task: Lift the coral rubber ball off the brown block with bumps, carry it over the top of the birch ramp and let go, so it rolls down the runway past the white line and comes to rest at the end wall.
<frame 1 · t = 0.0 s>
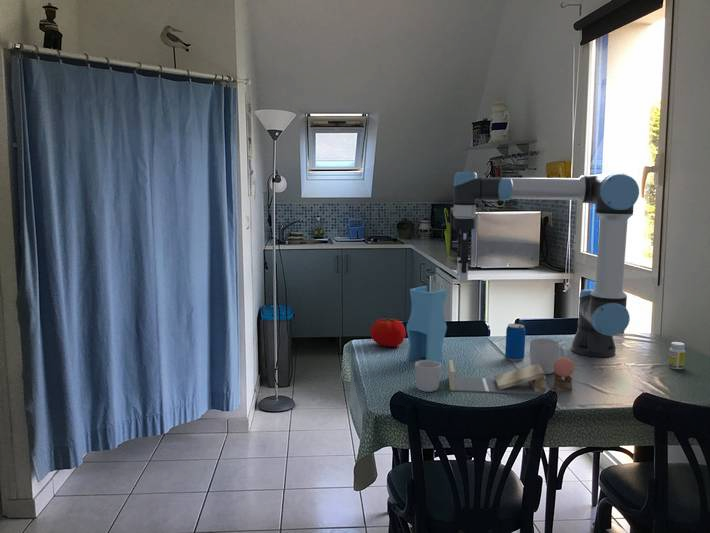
hand: (461, 278, 221), 28 cm above the table, fingers open, 13 cm apart
supplement bottle: (675, 368, 216), on the table
brown block with bumps: (562, 389, 194), on the table
runway: (498, 386, 195), on the table
vase: (425, 361, 221), on the table
cup: (426, 388, 194), on the table
ramp: (518, 387, 195), resting on runway
mug: (547, 371, 211), on the table
tomato: (387, 346, 239), on the table
beverage can: (514, 359, 224), on the table
ball: (563, 376, 193), point 4 cm above the table, touching brown block with bumps
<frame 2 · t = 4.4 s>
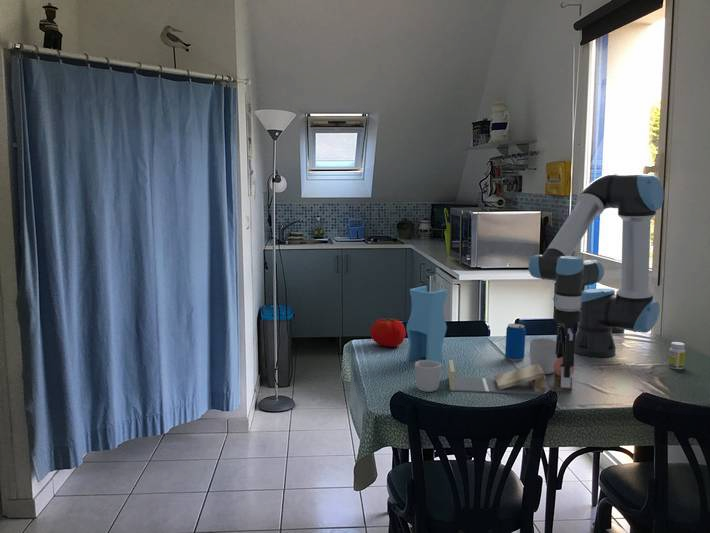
hand: (562, 383, 193), 2 cm above the table, fingers closed on ball, 6 cm apart
ball: (563, 376, 193), point 4 cm above the table, touching gripper, brown block with bumps
everything else where it was.
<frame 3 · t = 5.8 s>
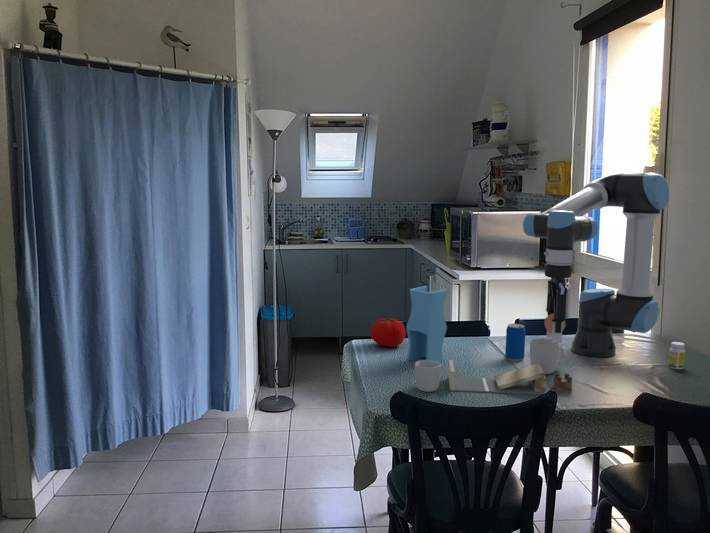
hand: (553, 339, 191), 15 cm above the table, fingers closed on ball, 6 cm apart
ball: (554, 333, 191), point 17 cm above the table, touching gripper
everything else where it was.
when the fingers open (6 cm above the table, at t = 7.2 s): ball drops 7 cm and tips over, resting on runway.
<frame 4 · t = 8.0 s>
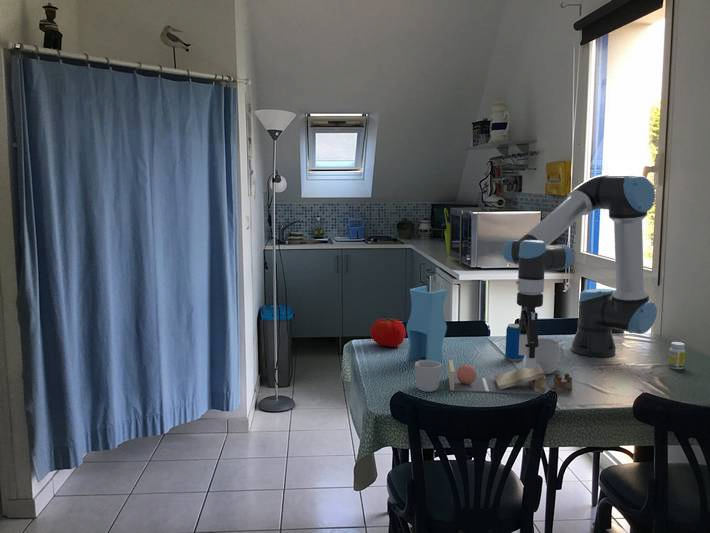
hand: (526, 361, 193), 8 cm above the table, fingers open, 13 cm apart
ball: (474, 380, 196), point 2 cm above the table, tilted 51°, touching runway
everything else where it was.
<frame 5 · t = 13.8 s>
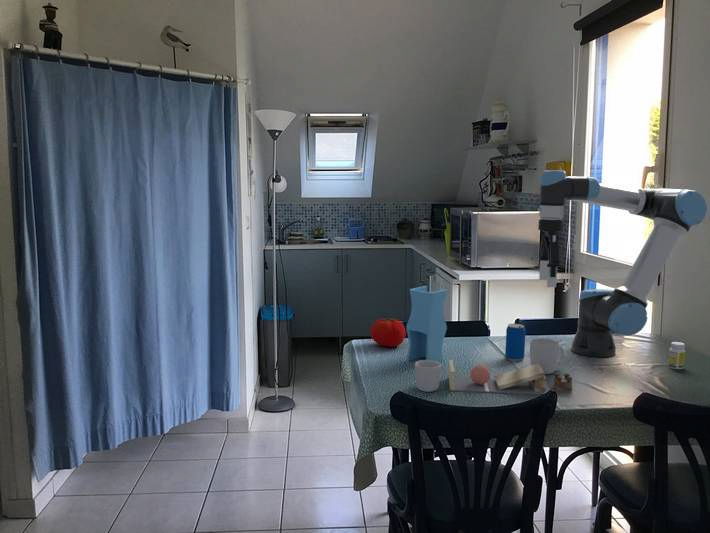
hand: (547, 283, 210), 29 cm above the table, fingers open, 13 cm apart
ball: (475, 383, 196), point 1 cm above the table, tilted 28°, touching runway
everything else where it was.
at the end: ball inside the target area (4.0 cm from its centre), point 0.8 cm above the table; the gripper is holding nothing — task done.
